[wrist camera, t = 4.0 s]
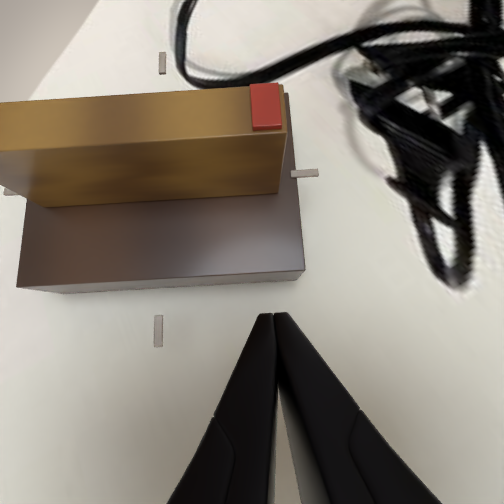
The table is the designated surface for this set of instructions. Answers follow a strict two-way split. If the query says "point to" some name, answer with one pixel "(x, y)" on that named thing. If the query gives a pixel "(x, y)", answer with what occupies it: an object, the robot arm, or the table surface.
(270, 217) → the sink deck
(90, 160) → the tan wooden plank
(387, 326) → the table surface
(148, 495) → the table surface
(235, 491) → the robot arm
